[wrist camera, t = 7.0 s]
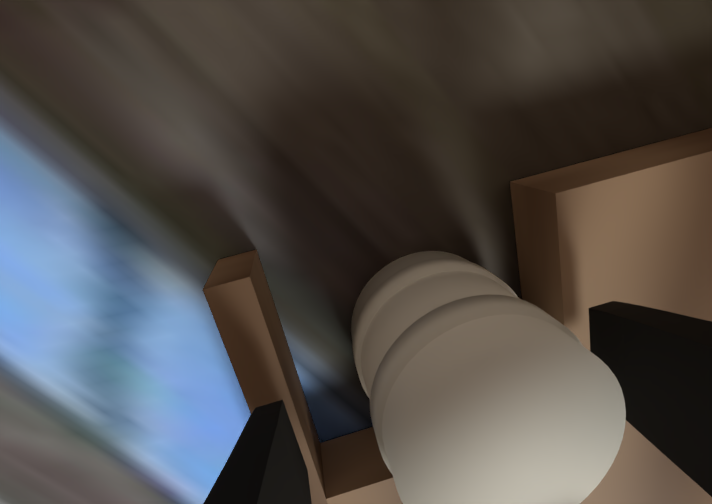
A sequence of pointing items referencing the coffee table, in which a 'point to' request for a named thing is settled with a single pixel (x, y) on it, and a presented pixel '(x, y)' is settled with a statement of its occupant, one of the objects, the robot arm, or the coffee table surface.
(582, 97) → the coffee table surface
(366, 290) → the ribbed cream cylinder
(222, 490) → the robot arm
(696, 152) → the shelf board
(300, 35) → the coffee table surface
